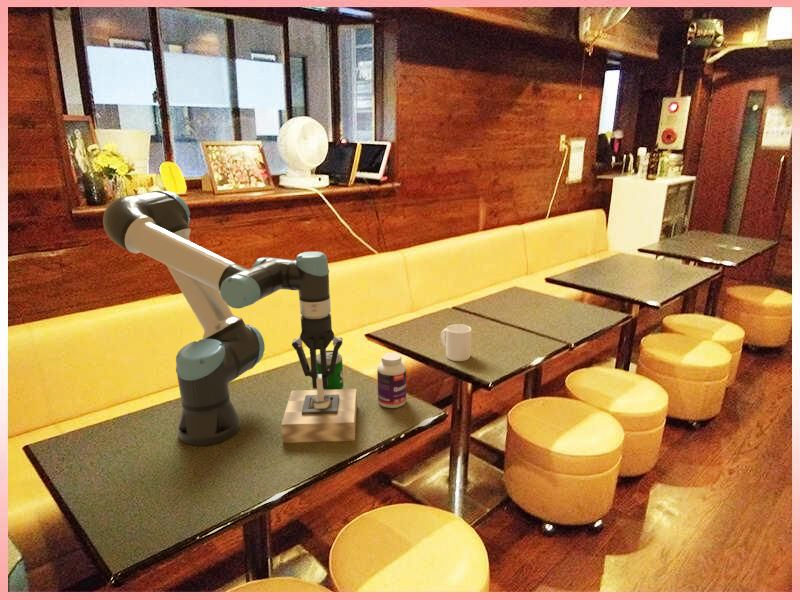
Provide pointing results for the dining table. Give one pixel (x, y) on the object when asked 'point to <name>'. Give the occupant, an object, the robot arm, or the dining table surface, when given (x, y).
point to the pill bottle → (391, 381)
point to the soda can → (337, 377)
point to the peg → (320, 403)
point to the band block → (320, 417)
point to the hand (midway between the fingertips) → (321, 398)
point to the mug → (457, 342)
